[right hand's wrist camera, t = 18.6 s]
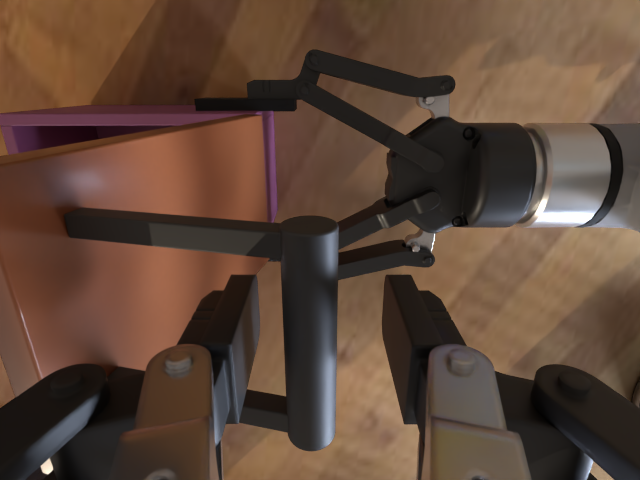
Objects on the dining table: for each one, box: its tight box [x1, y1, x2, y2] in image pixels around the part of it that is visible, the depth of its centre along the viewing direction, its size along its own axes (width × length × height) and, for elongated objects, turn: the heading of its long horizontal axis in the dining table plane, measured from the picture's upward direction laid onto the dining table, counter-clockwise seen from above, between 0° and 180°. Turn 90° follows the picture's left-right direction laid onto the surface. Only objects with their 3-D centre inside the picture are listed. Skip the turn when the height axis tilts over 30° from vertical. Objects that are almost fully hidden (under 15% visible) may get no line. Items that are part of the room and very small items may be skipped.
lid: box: [0, 114, 339, 474], centre depth 17 cm, size 16×9×9 cm
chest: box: [0, 105, 278, 223], centre depth 30 cm, size 16×9×10 cm, turn 90°
